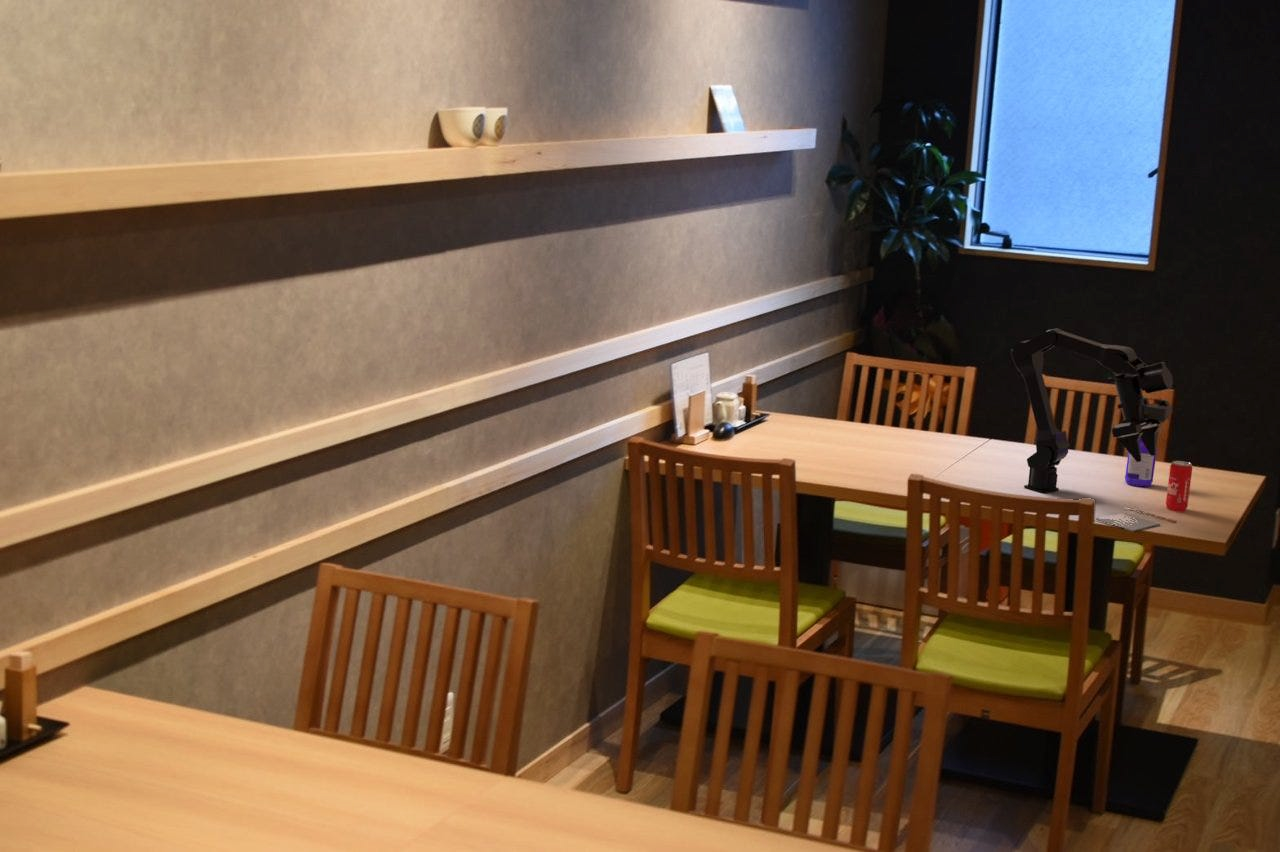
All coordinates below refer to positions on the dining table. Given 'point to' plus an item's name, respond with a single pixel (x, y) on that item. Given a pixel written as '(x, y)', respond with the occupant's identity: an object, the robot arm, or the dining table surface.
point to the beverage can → (1178, 486)
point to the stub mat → (1135, 526)
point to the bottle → (1140, 468)
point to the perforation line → (1158, 516)
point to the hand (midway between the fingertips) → (1146, 458)
